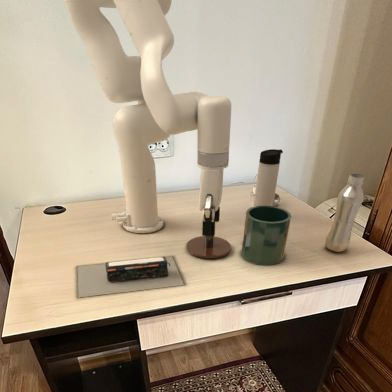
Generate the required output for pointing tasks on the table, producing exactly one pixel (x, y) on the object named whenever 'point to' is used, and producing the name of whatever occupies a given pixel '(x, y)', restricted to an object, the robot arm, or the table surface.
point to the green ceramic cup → (265, 234)
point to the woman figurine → (276, 198)
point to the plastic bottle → (345, 213)
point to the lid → (208, 247)
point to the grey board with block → (127, 276)
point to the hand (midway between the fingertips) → (211, 228)
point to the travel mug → (267, 177)
